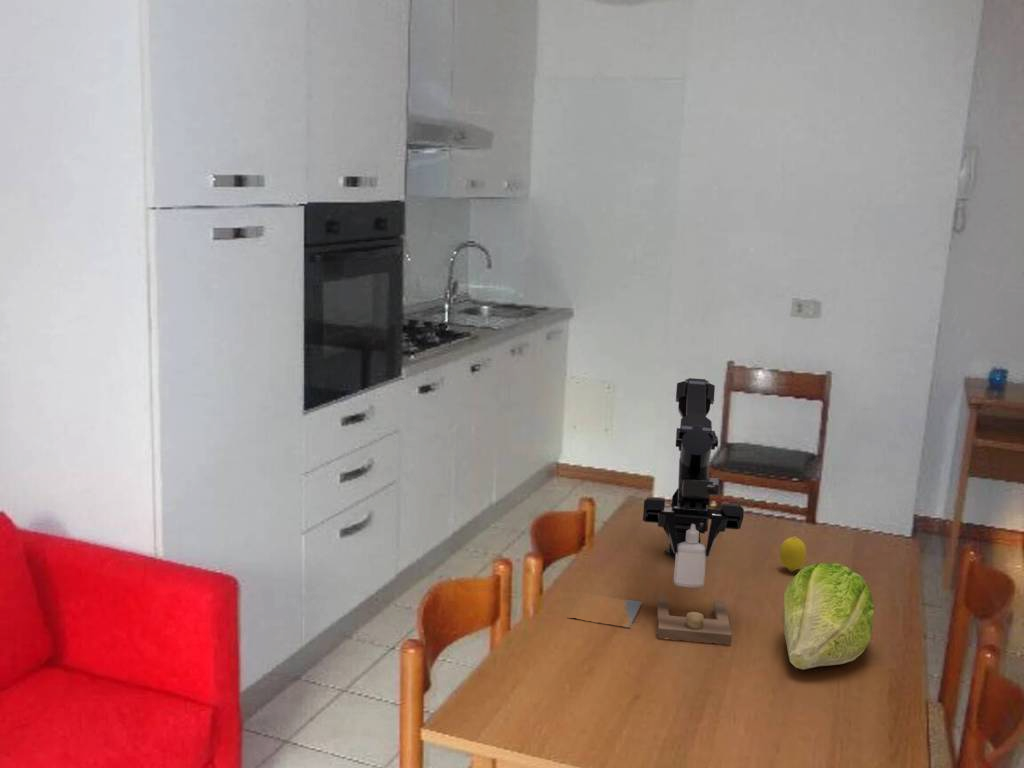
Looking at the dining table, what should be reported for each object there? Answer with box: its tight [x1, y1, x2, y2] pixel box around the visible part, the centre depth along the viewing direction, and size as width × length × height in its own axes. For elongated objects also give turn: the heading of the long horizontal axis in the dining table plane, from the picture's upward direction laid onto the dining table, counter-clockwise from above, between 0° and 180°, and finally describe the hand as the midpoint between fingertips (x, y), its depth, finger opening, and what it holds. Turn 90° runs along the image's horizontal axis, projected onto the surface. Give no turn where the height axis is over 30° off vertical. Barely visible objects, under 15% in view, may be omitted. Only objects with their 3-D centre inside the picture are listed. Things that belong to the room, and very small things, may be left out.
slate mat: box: [623, 599, 643, 627], centre depth 191 cm, size 12×12×1 cm
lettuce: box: [782, 562, 875, 670], centre depth 176 cm, size 15×25×16 cm
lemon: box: [779, 535, 807, 572], centre depth 214 cm, size 6×6×8 cm
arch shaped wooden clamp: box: [656, 595, 733, 646], centre depth 186 cm, size 15×13×4 cm
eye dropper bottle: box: [673, 524, 707, 589], centre depth 187 cm, size 4×6×12 cm
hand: (691, 554), depth 186 cm, fingers closed on eye dropper bottle, 6 cm apart
